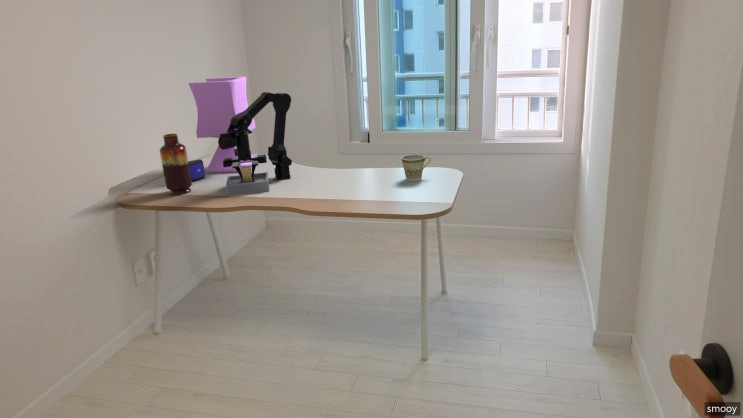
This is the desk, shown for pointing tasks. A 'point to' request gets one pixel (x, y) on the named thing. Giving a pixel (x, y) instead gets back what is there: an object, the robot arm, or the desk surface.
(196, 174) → the blue screen device
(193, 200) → the desk surface
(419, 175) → the ceramic cup
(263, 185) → the grey socket tray
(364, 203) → the desk surface
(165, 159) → the vase
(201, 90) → the lavender hourglass shape
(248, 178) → the connector plug
